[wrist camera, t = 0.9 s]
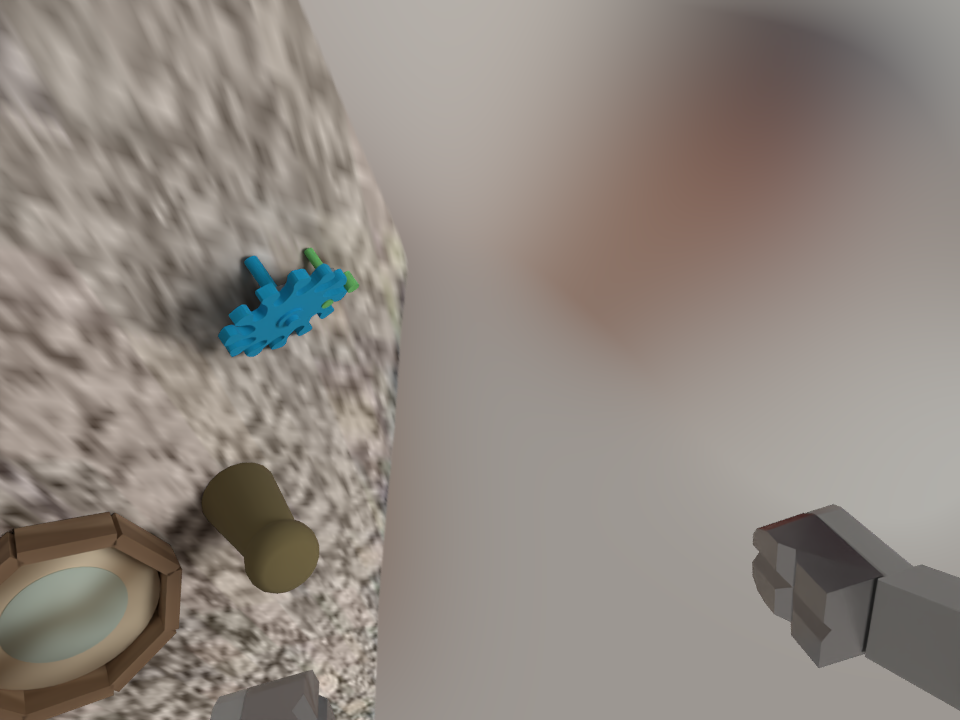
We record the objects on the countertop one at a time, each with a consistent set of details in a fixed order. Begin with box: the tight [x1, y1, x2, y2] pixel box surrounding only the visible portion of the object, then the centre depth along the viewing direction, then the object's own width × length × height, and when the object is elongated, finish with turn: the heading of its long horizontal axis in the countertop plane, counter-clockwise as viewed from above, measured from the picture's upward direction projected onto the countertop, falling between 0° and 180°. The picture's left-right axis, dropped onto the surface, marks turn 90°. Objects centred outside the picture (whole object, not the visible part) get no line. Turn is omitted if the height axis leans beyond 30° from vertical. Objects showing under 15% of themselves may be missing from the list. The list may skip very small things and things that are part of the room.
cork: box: [201, 463, 319, 594], centre depth 44 cm, size 6×6×11 cm
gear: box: [218, 248, 359, 357], centre depth 42 cm, size 11×6×10 cm
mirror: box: [0, 512, 182, 720], centre depth 41 cm, size 14×14×3 cm
